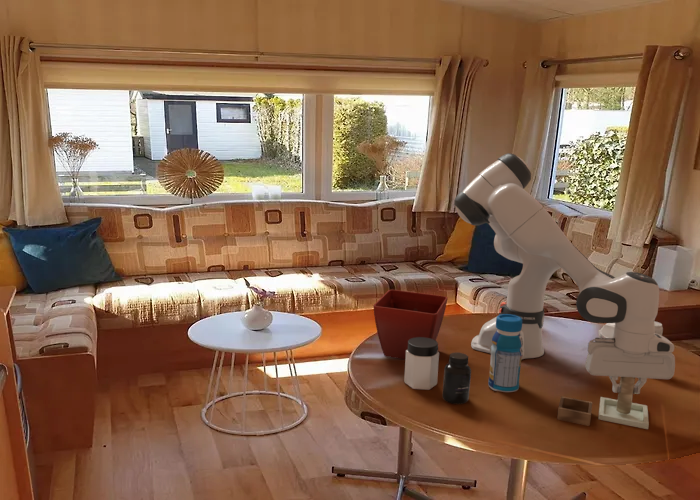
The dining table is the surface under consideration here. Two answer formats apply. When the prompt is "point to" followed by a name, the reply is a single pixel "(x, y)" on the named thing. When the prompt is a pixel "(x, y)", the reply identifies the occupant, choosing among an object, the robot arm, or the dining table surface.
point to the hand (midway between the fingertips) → (625, 392)
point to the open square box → (574, 411)
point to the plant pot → (407, 319)
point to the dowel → (625, 395)
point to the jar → (421, 363)
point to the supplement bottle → (457, 379)
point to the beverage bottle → (506, 354)
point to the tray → (634, 418)
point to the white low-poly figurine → (607, 330)
